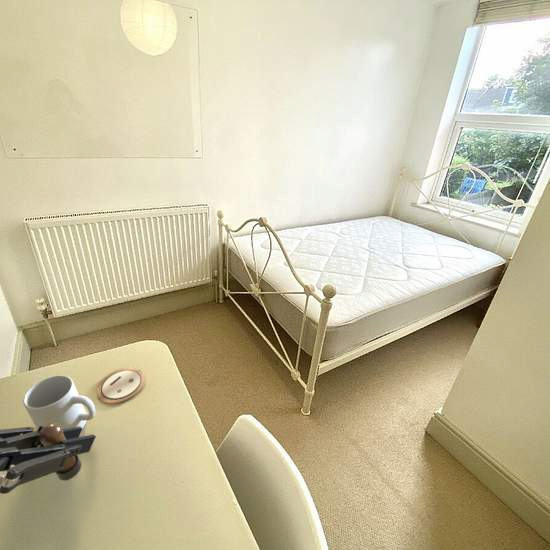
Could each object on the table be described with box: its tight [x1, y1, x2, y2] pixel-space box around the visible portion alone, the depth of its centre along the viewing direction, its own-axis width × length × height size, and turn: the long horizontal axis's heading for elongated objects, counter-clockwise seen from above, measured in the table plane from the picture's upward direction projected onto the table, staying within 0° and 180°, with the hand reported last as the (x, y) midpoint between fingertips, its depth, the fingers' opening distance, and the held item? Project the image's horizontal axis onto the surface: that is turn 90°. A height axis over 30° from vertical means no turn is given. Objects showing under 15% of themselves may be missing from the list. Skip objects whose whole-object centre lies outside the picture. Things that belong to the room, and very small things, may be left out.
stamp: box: [39, 423, 82, 481], centre depth 52 cm, size 4×4×12 cm
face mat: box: [96, 367, 147, 405], centre depth 77 cm, size 11×11×1 cm
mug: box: [22, 374, 97, 431], centre depth 64 cm, size 12×8×11 cm
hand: (84, 438), depth 56 cm, fingers closed on stamp, 3 cm apart
